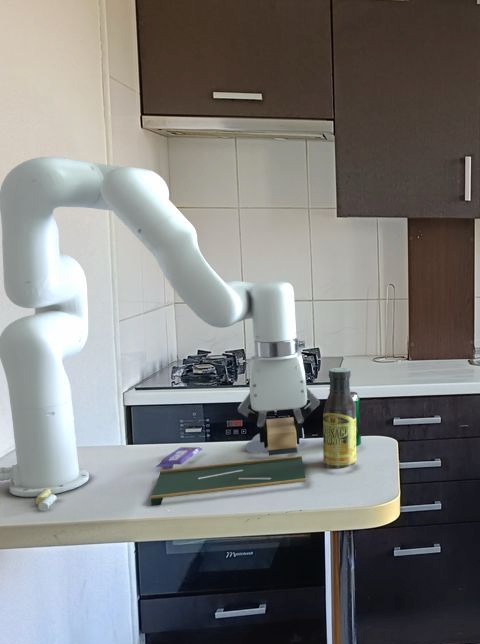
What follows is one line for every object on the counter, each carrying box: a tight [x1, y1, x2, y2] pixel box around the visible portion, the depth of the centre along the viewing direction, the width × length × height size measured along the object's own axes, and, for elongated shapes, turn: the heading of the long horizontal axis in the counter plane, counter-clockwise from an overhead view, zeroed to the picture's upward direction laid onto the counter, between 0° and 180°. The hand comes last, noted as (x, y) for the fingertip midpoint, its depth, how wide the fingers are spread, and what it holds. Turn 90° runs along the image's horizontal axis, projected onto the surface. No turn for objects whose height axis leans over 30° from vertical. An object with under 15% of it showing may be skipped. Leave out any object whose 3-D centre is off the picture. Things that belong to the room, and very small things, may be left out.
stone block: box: [245, 427, 305, 454], centre depth 158 cm, size 12×5×10 cm
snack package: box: [155, 446, 203, 469], centre depth 151 cm, size 12×2×5 cm
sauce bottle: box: [322, 367, 357, 469], centre depth 144 cm, size 6×6×20 cm
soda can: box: [350, 391, 362, 447], centre depth 157 cm, size 5×5×12 cm
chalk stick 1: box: [34, 489, 51, 505], centre depth 131 cm, size 2×4×2 cm
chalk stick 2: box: [37, 494, 57, 512], centre depth 128 cm, size 2×4×2 cm
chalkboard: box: [149, 455, 308, 506], centre depth 139 cm, size 26×14×2 cm, turn 108°
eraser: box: [265, 416, 298, 456], centre depth 140 cm, size 5×10×4 cm, turn 18°
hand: (281, 443), depth 141 cm, fingers closed on eraser, 5 cm apart
